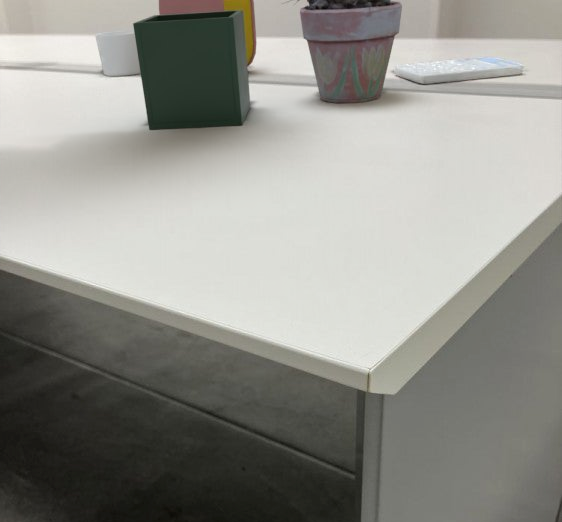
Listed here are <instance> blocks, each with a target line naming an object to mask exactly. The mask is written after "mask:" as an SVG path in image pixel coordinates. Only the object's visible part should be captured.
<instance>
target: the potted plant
mask: <svg viewBox="0 0 562 522" xmlns="http://www.w3.org/2000/svg"><path fill="white" fill-rule="evenodd" d="M292 1H293V0H288V1H285V2H283V3H281V5H283V4H286V3H289V2H292ZM299 1H300V0H296V1H295V3H294V5H296V4H297V3H298V2H299ZM306 2H307V3H308V5H305V6H304V7H301V8H300V9H299V16H300V23H301V29H302V37H303V39H304V40H306V42H307V47H308V51H309V54H310V60H311V63H312V67H313V72H314V76H315V80H316V84H317V90H318V93H319V99H320V101H323V102H329V103H333V104H356V103H357V104H358V103H365V102H371V101H375V100H378V99H380V97H382V92H383V88H384V85H385V81H386V75H387V71H388V67H389V62H390V58H391V53H392V49H393V45H394V41H395V36H396V35H398V34H399V33H400V28H401V27H400V26H401V19H402V10H403V5H402V2H400V1H394V0H306Z"/></svg>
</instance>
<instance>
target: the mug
mask: <svg viewBox="0 0 562 522" xmlns="http://www.w3.org/2000/svg"><path fill="white" fill-rule="evenodd" d="M94 36H95V41H96V46H97V50H98V54H99V59H100V63H101V68H102V72H103V75H104V76H107V77H125V76H135V75H141V73H140V66H139V59H138V53H137V46H136V40H135V33H134V29H124V30H112V31H111V30H110V31H103V32H99V33H95V35H94Z"/></svg>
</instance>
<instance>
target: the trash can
mask: <svg viewBox="0 0 562 522" xmlns="http://www.w3.org/2000/svg"><path fill="white" fill-rule="evenodd" d="M132 26H133V30H134V33H135V40H136V46H137V53H138V59H139V66H140V73H141V74H140V78H141V85H142V91H143V92H142V93H143V97H144V104H145V111H146V117H147V124H148V130H149V131H151V130H172V129H192V128H193V129H195V128H212V127H213V128H215V127H233V126H234V127H235V126H236V127H237V126H243V124H244V122H245V120H246V118H247V115H248V113H249V111H250V108H251V96H250V82H249V81H250V80H249V70H248V69H249V66H248V67H247V54H246V41H245V27H244V14H243V10H233V11H217V12H200V13H184V14H167V15H160V14H154V15H151V16H148V17H146V18H143V19H141V20H139V21H136V22H135V21H134V22H133V23H132Z"/></svg>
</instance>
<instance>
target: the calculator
mask: <svg viewBox="0 0 562 522" xmlns="http://www.w3.org/2000/svg"><path fill="white" fill-rule="evenodd" d="M524 70H525V64H523V63H521V62H517V61H512V60H508V59H503V58H498V57H494V56H480V57H470V58H461V59H446V60H442V59H441V60H437V61H434V60H431V61H427V62H423V61H419V62H417V63H414V62H410V63H407V64H406V63H405V64H404V63H400V64H398V65H395V66H394V74H395V76H397V77H400V78H403V79H406V80H409V81H411V82H414V83H416V84H421V85H431V84H442V83H443V84H444V83H452V82H461V81H471V80H479V79H489V78H499V77H509V76H516V75H521V74H523V73H524Z"/></svg>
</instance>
